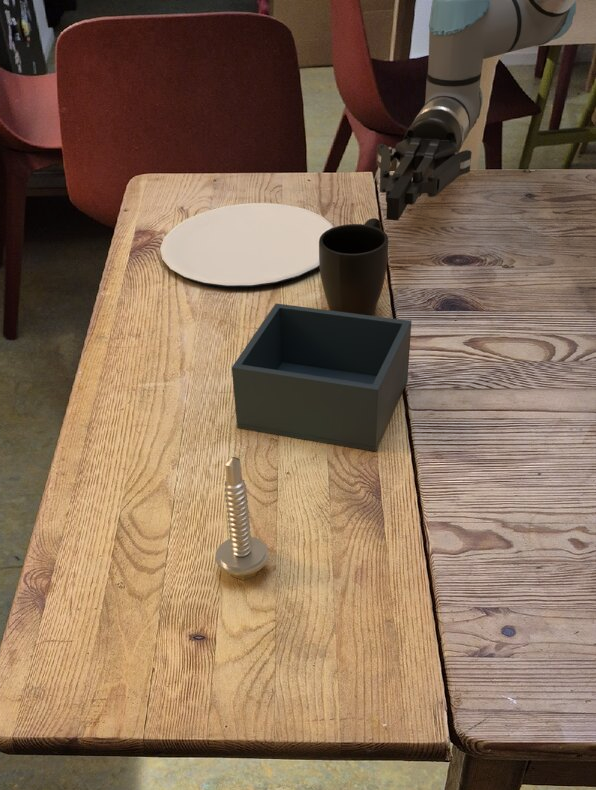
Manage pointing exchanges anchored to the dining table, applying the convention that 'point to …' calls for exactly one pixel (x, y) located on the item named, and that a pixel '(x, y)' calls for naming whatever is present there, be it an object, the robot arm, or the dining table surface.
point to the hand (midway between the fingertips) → (392, 208)
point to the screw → (239, 530)
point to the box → (322, 375)
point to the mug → (353, 266)
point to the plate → (245, 244)
